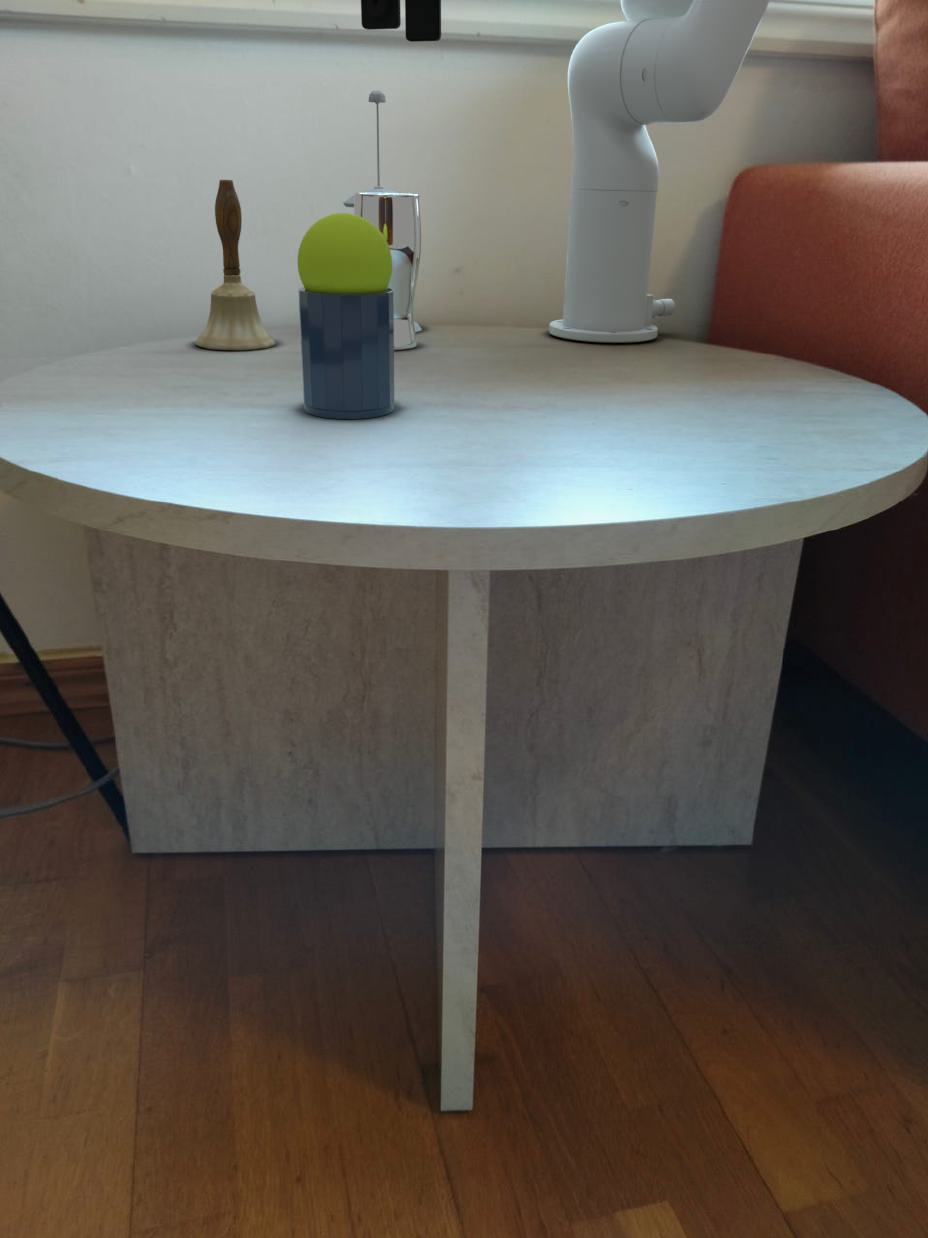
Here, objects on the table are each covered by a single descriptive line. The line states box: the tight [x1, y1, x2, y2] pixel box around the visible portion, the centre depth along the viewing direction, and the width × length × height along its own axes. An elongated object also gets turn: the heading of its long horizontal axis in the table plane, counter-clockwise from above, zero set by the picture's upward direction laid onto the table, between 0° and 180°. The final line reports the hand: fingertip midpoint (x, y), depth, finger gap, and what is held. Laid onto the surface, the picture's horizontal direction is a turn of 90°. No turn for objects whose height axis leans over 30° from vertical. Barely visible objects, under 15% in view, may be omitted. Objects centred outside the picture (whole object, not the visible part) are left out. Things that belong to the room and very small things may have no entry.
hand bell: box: [195, 179, 277, 351], centre depth 101 cm, size 8×8×16 cm
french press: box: [342, 89, 422, 333], centre depth 112 cm, size 10×12×25 cm
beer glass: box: [353, 192, 422, 351], centre depth 102 cm, size 7×7×15 cm
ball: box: [297, 212, 392, 294], centre depth 73 cm, size 7×7×7 cm
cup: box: [297, 286, 395, 420], centre depth 76 cm, size 7×7×9 cm
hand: (403, 34), depth 84 cm, fingers open, 9 cm apart
